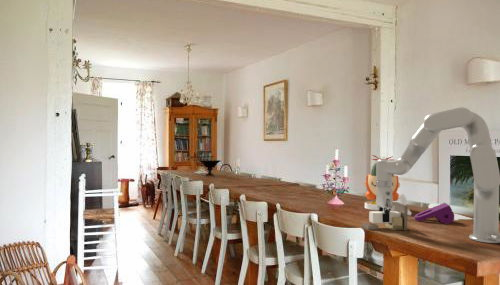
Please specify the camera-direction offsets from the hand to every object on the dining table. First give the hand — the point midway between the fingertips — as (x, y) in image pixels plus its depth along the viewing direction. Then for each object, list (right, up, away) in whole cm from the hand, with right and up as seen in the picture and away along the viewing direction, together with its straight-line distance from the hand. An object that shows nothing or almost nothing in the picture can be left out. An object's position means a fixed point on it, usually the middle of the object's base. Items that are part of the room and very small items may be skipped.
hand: (383, 220), depth 194 cm
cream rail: (+1, -1, 0) cm, 1 cm away
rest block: (-7, -4, 0) cm, 8 cm away
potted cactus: (+20, -5, +63) cm, 66 cm away
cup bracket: (+5, -4, 0) cm, 7 cm away
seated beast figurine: (+26, -5, +42) cm, 50 cm away
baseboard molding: (+52, -6, +40) cm, 65 cm away
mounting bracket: (+34, -5, +21) cm, 40 cm away
